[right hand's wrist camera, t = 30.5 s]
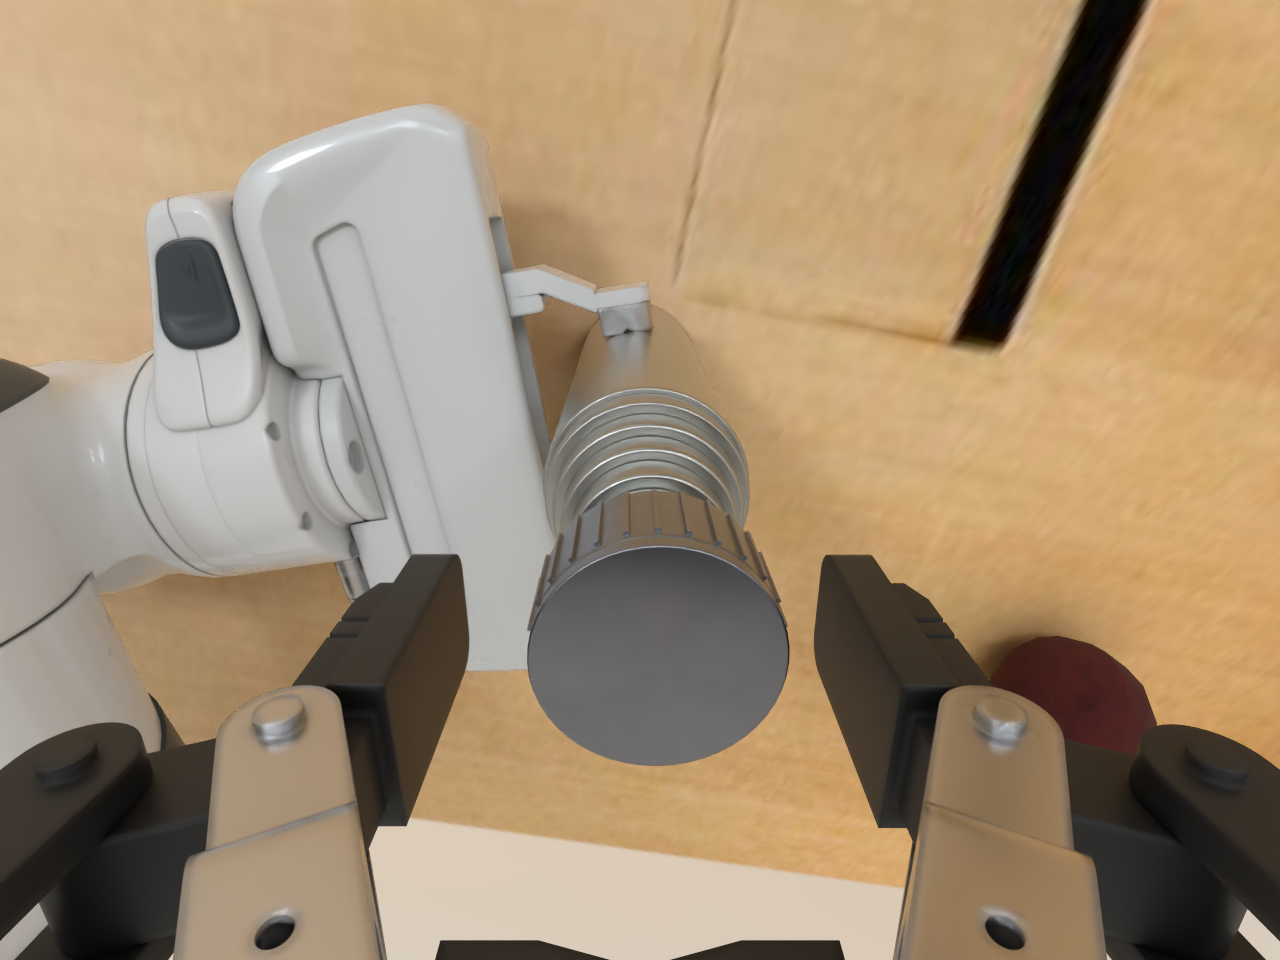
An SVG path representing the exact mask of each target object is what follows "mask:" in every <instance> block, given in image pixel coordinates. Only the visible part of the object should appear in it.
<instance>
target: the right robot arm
mask: <svg viewBox="0 0 1280 960" xmlns="http://www.w3.org/2000/svg"><path fill="white" fill-rule="evenodd" d="M814 652H815V660H816V665H817V669H818V672H819V675H820V678H821V680H822V683H823V685H824V688H825V691H826V693H827V696H828V698H829V701H830V703H831V706H832V709H833V711H834V714H835V716H836V719H837V722H838V724H839V727H840V729H841V732H842V735H843V737H844V740H845V742H846V745H847V748H848V750H849V753H850V755H851V758H852V761H853V763H854V766H855V768H856V771H857V773H858V776H859V779H860V781H861V784H862V786H863V789H864V792H865V794H866V797H867V799H868V802H869V805H870V807H871V810H872V812H873V815H874V818H875V820H876V823H877V825H878V828H907V829H908V831H909V834H910V836H911V838H912V841H913V842H912V848H911V853H910V858H909V863H908V869H907V876H906V882H905V888H904V894H903V900H902V906H901V913H900V919H899V925H898V931H897V937H896V943H895V949H894V956H893V960H1107V955H1106V953H1107V954H1108V955H1109V957H1110V958H1111V959H1112V960H1266V959H1265V958H1264V957H1263V956H1262V955H1261V954H1260V953H1259V952H1258V951H1257V950H1256V949H1255V948H1254V947H1253V946H1252V945H1251V944H1250V943H1249V942H1248V941H1247V940H1246V939H1245V938H1244V936H1243V935H1242V934H1241V933H1240V932H1239V931H1238V929H1239V926H1240V924H1241V922H1242V920H1243V918H1244V915H1245V913H1246V911H1247V909H1248V910H1249V911H1250V912H1251V913H1252V914H1253V915H1254V916H1255V917H1256V918H1257V919H1258V920H1259V921H1260V922H1261V923H1262V924H1263V925H1264V926H1265V927H1266V928H1267V929H1268V930H1269V931H1270V932H1271V933H1272V934H1273V935H1274V936H1275V937H1276V938H1277V939H1278V940H1279V941H1280V770H1279V769H1278V768H1277V767H1275V766H1274V765H1273V764H1272V763H1270V762H1269V761H1268V760H1266V759H1265V758H1263V757H1262V756H1260V755H1259V754H1258V753H1256V752H1254V751H1252V750H1251V749H1249V748H1247V747H1246V746H1244V745H1242V744H1240V743H1238V742H1236V741H1234V740H1231V739H1229V738H1227V737H1224V736H1222V735H1219V734H1216V733H1213V732H1210V731H1207V730H1203V729H1200V728H1196V727H1190V726H1185V725H1174V724H1170V725H1159V726H1154V727H1152V728H1149V729H1148V730H1147V731H1145V732H1144V733H1143V735H1142V737H1141V739H1140V742H1139V745H1138V748H1137V751H1136V754H1131V753H1126V752H1122V751H1117V750H1112V749H1108V748H1103V747H1098V746H1094V745H1089V744H1084V743H1080V742H1076V741H1072V740H1068V739H1065V738H1064V737H1063V733H1062V731H1061V729H1060V727H1059V725H1058V724H1057V722H1056V721H1055V720H1054V719H1053V718H1052V717H1051V716H1050V715H1049V714H1048V713H1047V712H1046V711H1045V710H1043V709H1042V708H1041V707H1039V706H1038V705H1036V704H1035V703H1033V702H1032V701H1030V700H1028V699H1026V698H1024V697H1022V696H1020V695H1017V694H1015V693H1012V692H1009V691H1006V690H1003V689H999V688H995V687H993V686H992V685H991V683H990V682H989V681H988V679H987V678H986V677H985V675H984V674H983V672H982V671H981V670H980V668H979V667H978V666H977V664H976V663H975V662H974V660H973V659H972V658H971V656H970V655H969V654H968V652H967V651H966V650H965V648H964V647H963V645H962V644H961V643H960V641H959V640H958V639H955V637H954V633H953V632H952V631H951V629H950V628H949V627H948V625H947V624H946V623H943V618H942V617H941V616H940V614H939V613H938V612H937V610H936V609H935V608H934V606H933V605H932V604H931V602H930V601H929V600H928V599H927V598H925V597H924V596H922V595H921V594H919V593H918V592H916V591H915V590H913V589H912V588H910V587H909V586H907V585H906V584H904V583H890V581H889V580H888V578H887V577H886V575H885V574H884V572H883V571H882V569H881V568H880V566H879V565H878V563H877V562H876V560H875V559H874V558H873V556H871V555H826V556H825V557H824V559H823V562H822V567H821V575H820V584H819V593H818V603H817V612H816V621H815V631H814ZM468 655H469V626H468V616H467V607H466V597H465V588H464V578H463V569H462V563H461V559H460V557H459V556H458V555H457V554H413V555H411V557H410V558H409V560H408V561H407V563H406V564H405V566H404V567H403V569H402V570H401V572H400V573H399V575H398V576H397V578H396V579H395V581H394V582H393V583H378V584H377V585H375V586H374V587H372V588H371V589H369V590H368V591H366V592H365V593H363V594H362V595H360V596H359V597H358V598H356V599H355V600H354V602H353V603H352V604H351V606H350V607H349V608H348V610H347V611H346V613H345V614H344V615H343V617H342V621H341V622H338V623H337V625H336V626H335V628H334V629H333V630H332V632H331V633H330V638H326V640H325V641H324V643H323V644H322V645H321V647H320V648H319V649H318V651H317V652H316V654H315V655H314V656H313V658H312V659H311V660H310V662H309V663H308V664H307V666H306V667H305V669H304V670H303V671H302V673H301V674H300V675H299V677H298V678H297V680H296V681H295V682H294V684H293V685H292V686H290V687H285V688H281V689H277V690H274V691H271V692H268V693H265V694H263V695H260V696H258V697H256V698H254V699H252V700H250V701H248V702H247V703H245V704H244V705H242V706H241V707H239V708H238V709H237V710H235V711H234V712H233V713H232V714H231V715H230V716H229V717H228V718H227V719H226V720H225V721H224V722H223V724H222V725H221V727H220V729H219V731H218V733H217V737H216V738H215V739H211V740H207V741H203V742H199V743H194V744H189V745H185V746H180V747H175V748H171V749H166V750H161V751H157V752H152V753H147V751H146V747H145V744H144V741H143V738H142V735H141V733H140V732H139V730H138V729H136V728H135V727H134V726H131V725H128V724H125V723H119V722H106V723H97V724H91V725H86V726H82V727H79V728H75V729H72V730H69V731H66V732H63V733H60V734H58V735H56V736H53V737H51V738H49V739H47V740H45V741H43V742H41V743H39V744H37V745H35V746H33V747H32V748H30V749H28V750H27V751H25V752H24V753H22V754H21V755H19V756H18V757H16V758H15V759H14V760H12V761H11V762H10V763H8V764H7V765H6V766H5V767H3V768H2V769H1V770H0V941H1V940H2V939H3V938H4V937H5V936H6V935H7V934H8V933H9V932H10V931H11V930H12V929H13V928H14V927H15V926H16V925H17V924H18V923H19V922H20V921H21V920H22V919H23V918H24V917H25V916H26V915H27V914H28V913H29V912H30V911H31V910H32V909H33V908H34V907H35V906H36V905H37V904H38V903H39V905H40V907H41V909H42V912H43V914H44V916H45V918H46V921H47V923H48V925H47V926H46V927H45V928H44V929H43V930H42V931H41V932H40V933H39V934H38V935H37V936H36V938H35V939H34V940H33V941H32V942H31V943H30V944H29V945H28V946H27V947H26V948H25V949H24V950H23V951H22V952H21V953H20V954H19V955H18V956H17V957H16V958H15V959H14V960H168V959H169V958H170V957H171V955H172V954H173V953H174V955H173V960H387V956H386V950H385V943H384V937H383V931H382V925H381V919H380V913H379V907H378V900H377V894H376V888H375V882H374V876H373V870H372V863H371V858H370V853H369V847H370V844H371V842H372V839H373V837H374V835H375V832H376V830H377V828H378V826H407V823H408V820H409V818H410V815H411V813H412V810H413V807H414V805H415V802H416V799H417V797H418V794H419V791H420V789H421V786H422V784H423V781H424V778H425V776H426V773H427V770H428V768H429V765H430V762H431V760H432V757H433V755H434V752H435V749H436V747H437V744H438V741H439V739H440V736H441V733H442V731H443V728H444V726H445V723H446V720H447V718H448V715H449V712H450V710H451V707H452V704H453V702H454V699H455V696H456V694H457V691H458V689H459V686H460V683H461V681H462V678H463V675H464V673H465V670H466V666H467V662H468ZM435 960H608V959H604V958H601V957H597V956H594V955H590V954H586V953H583V952H579V951H575V950H571V949H568V948H564V947H561V946H557V945H553V944H549V943H546V942H542V941H539V940H493V941H492V940H466V941H465V940H441V941H440V944H439V948H438V951H437V955H436V959H435ZM672 960H845V959H844V955H843V951H842V948H841V944H840V941H839V940H742V941H738V942H734V943H730V944H727V945H723V946H719V947H716V948H712V949H708V950H705V951H701V952H697V953H694V954H690V955H687V956H683V957H679V958H675V959H672Z"/></svg>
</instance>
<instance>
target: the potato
mask: <svg viewBox="0 0 1280 960" xmlns="http://www.w3.org/2000/svg"><path fill="white" fill-rule="evenodd" d="M990 683H991V685H992V686H993V687H995V688H999V689H1003V690H1006V691H1009V692H1012V693H1015V694H1017V695H1020V696H1022V697H1024V698H1026V699H1028V700H1030V701H1032V702H1033V703H1035V704H1036V705H1038V706H1039V707H1041V708H1042V709H1043V710H1045V711H1046V712H1047V713H1048V714H1049V715H1050V716H1051V717H1052V718H1053V719H1054V720H1055V721H1056V722H1057V724H1058V725H1059V727H1060V729H1061V731H1062V733H1063V737H1064V738H1065V739H1068V740H1072V741H1076V742H1080V743H1084V744H1089V745H1094V746H1098V747H1103V748H1108V749H1112V750H1117V751H1122V752H1126V753H1131V754H1136V751H1137V748H1138V745H1139V742H1140V739H1141V737H1142V735H1143V733H1144V732H1145V731H1147V730H1148V729H1149V728H1152V727H1154V726H1156V725H1157V722H1156V719H1155V717H1154V714H1153V711H1152V708H1151V706H1150V703H1149V700H1148V697H1147V695H1146V692H1145V689H1144V686H1143V685H1142V684H1141V683H1140V682H1139V681H1138V680H1137V679H1136V678H1135V677H1134V676H1133V674H1132V673H1131V672H1130V671H1129V670H1128V669H1127V668H1126V667H1125V666H1123V665H1122V664H1121V663H1119V662H1118V661H1117V660H1115V659H1114V658H1113V657H1111V656H1110V655H1109V654H1107V653H1106V652H1105V651H1103V650H1101V649H1099V648H1097V647H1096V646H1094V645H1092V644H1088V643H1084V642H1081V641H1077V640H1073V639H1069V638H1065V637H1060V636H1052V637H1042V638H1036V639H1034V640H1032V641H1030V642H1027V643H1025V644H1023V645H1020V646H1019V647H1017V648H1016V649H1015V650H1014V651H1012V652H1011V653H1010V654H1008V655H1007V656H1006V657H1005V658H1004V660H1003V661H1002V663H1001V664H1000V665H999V667H998V668H997V670H996V671H995V673H994V674H993V675H992V677H991V680H990Z"/></svg>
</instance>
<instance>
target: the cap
mask: <svg viewBox="0 0 1280 960" xmlns="http://www.w3.org/2000/svg"><path fill="white" fill-rule="evenodd" d="M780 602H781V600H780V598H779V595H778V593H777V590H776V588H775V585H774V583H773V580H772V577H771V575H770V572H769V570H768V567H767V565H766V562H765V560H764V557H763V555H762V552H758V551H757V549H756V546H755V544H754V541H753V538H752V536H751V533H750V532H749V531H746V532H745V531H744V530H743V529H742V528H741V527H740V525H739V524H738V523H737V522H736V521H735V520H734V517H733V515H732V514H731V513H729V514H728V515H727V514H726V513H725V512H723V511H722V510H720V509H719V508H717V507H715V506H714V505H712V504H711V501H710V500H707V499H706V501H703V500H701V499H698V498H695V497H693V496H689V495H685V492H683V491H680V492H679V493H675V492H666V491H657V489H652V491H643V492H636V493H631V494H629V492H624V495H622V496H619V497H616V498H612V499H609V500H607V501H604V502H603V501H602V500H601V501H599V502H597V506H595V507H593V508H592V509H590V510H588V511H587V512H585V513H584V514H583V515H581V516H580V515H579V514H578V515H577V516H576V517H575V519H574V522H573V523H572V524H571V525H570V526H569V527H568V528H567V529H566V530H565V531H564V532H563V534H561V533H559V534H558V535H557V538H556V543H555V546H554V547H553V549H552V551H551V553H550V555H548V554H546V556H545V559H544V563H543V568H542V572H541V576H540V577H539V581H538V586H537V590H536V594H535V598H534V602H533V606H532V610H531V615H530V619H529V623H528V627H527V631H530V636H529V641H528V647H527V666H528V673H529V679H530V682H531V685H532V689H533V691H534V694H535V696H536V698H537V700H538V702H539V704H540V706H541V707H542V709H543V710H544V712H545V713H546V715H547V716H548V718H549V719H550V720H551V721H552V722H553V723H554V725H555V726H556V727H557V728H558V729H559V730H560V731H562V732H563V733H564V734H565V735H566V736H567V737H568V738H570V739H571V740H573V741H574V742H576V743H577V744H579V745H580V746H582V747H584V748H586V749H588V750H589V751H591V752H593V753H595V754H598V755H601V756H603V757H606V758H609V759H612V760H616V761H620V762H623V763H629V764H636V765H647V766H664V765H675V764H682V763H688V762H692V761H695V760H699V759H703V758H706V757H708V756H711V755H713V754H716V753H718V752H720V751H722V750H724V749H726V748H728V747H730V746H732V745H733V744H735V743H736V742H738V741H739V740H741V739H742V738H744V737H745V736H746V735H748V734H749V733H750V732H751V731H752V730H753V729H755V728H756V727H757V726H758V725H759V723H760V722H761V721H762V720H763V719H764V718H765V717H766V716H767V714H768V713H769V711H770V710H771V709H772V707H773V706H774V704H775V703H776V701H777V699H778V697H779V695H780V693H781V691H782V688H783V685H784V682H785V679H786V676H787V671H788V665H789V640H788V633H787V629H786V628H787V622H786V620H785V617H784V615H783V612H782V610H781V607H780V604H779V603H780Z"/></svg>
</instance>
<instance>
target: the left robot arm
mask: <svg viewBox="0 0 1280 960" xmlns="http://www.w3.org/2000/svg"><path fill="white" fill-rule="evenodd" d="M145 235H146V248H147V258H148V268H149V279H150V289H151V303H152V319H153V349H151V350H149V351H147V352H145V353H143V354H141V355H139V356H138V357H136V358H134V359H132V360H129V361H125V362H107V361H100V360H89V359H72V360H62V361H56V362H49V363H43V364H37V365H31V366H23V365H20V364H18V363H15V362H11V361H8V360H5V359H1V358H0V770H1V769H2V768H3V767H5V766H6V765H7V764H8V763H10V762H11V761H12V760H14V759H15V758H16V757H18V756H19V755H21V754H22V753H24V752H25V751H27V750H28V749H30V748H32V747H33V746H35V745H37V744H39V743H41V742H43V741H45V740H47V739H49V738H51V737H53V736H56V735H58V734H60V733H63V732H66V731H69V730H72V729H75V728H79V727H82V726H86V725H91V724H97V723H106V722H119V723H125V724H128V725H131V726H134V727H135V728H136V729H138V730H139V732H140V733H141V735H142V738H143V741H144V744H145V747H146V751H147V753H152V752H157V751H161V750H166V749H171V748H175V747H180V746H185V744H184V742H183V741H182V739H181V738H180V736H179V735H178V733H177V732H176V730H175V728H174V727H173V725H172V724H171V722H170V721H169V719H168V718H167V716H166V715H165V713H164V711H163V710H162V708H161V707H160V705H159V704H158V702H157V701H156V700H155V699H154V698H153V697H152V696H151V695H150V694H149V693H148V692H147V690H146V688H145V686H144V684H143V682H142V680H141V678H140V676H139V674H138V672H137V670H136V668H135V666H134V664H133V662H132V660H131V658H130V656H129V654H128V652H127V650H126V648H125V646H124V644H123V642H122V640H121V638H120V636H119V634H118V632H117V630H116V628H115V626H114V624H113V622H112V620H111V618H110V616H109V614H108V612H107V610H106V608H105V606H104V604H103V602H102V600H101V597H100V595H101V594H109V593H116V592H121V591H125V590H130V589H134V588H138V587H141V586H143V585H146V584H148V583H150V582H152V581H155V580H157V579H159V578H161V577H163V576H166V575H170V574H180V573H181V574H187V575H192V576H201V577H210V578H214V577H230V576H237V575H244V574H252V573H259V572H266V571H273V570H280V569H287V568H294V567H300V566H307V565H314V564H322V563H329V562H334V564H335V566H336V569H337V572H338V575H339V578H340V580H341V583H342V586H343V588H344V591H345V593H346V595H347V597H348V599H349V601H350V602H351V604H352V603H353V602H354V600H355V599H356V598H358V597H359V596H360V595H362V594H363V593H365V592H366V591H368V590H369V589H371V588H372V587H374V586H375V585H377V584H378V583H393V582H394V581H395V579H396V578H397V576H398V575H399V573H400V572H401V570H402V569H403V567H404V566H405V564H406V563H407V561H408V560H409V558H410V557H411V555H413V554H457V555H458V556H459V557H460V559H461V563H462V569H463V578H464V588H465V597H466V607H467V616H468V626H469V655H468V662H467V666H466V670H465V671H516V670H528V666H527V647H528V641H529V636H530V631H527V627H528V623H529V619H530V615H531V610H532V606H533V602H534V598H535V594H536V590H537V586H538V581H539V577H540V576H541V572H542V568H543V563H544V559H545V556H546V554H548V555H550V553H551V551H552V549H553V547H554V546H555V543H556V540H555V538H554V535H553V533H552V531H551V529H550V526H549V523H548V519H547V515H546V509H545V498H544V492H543V476H544V469H545V464H546V460H547V456H548V453H549V450H550V447H551V439H550V434H549V430H548V425H547V420H546V416H545V411H544V406H543V401H542V397H541V392H540V387H539V383H538V378H537V373H536V369H535V364H534V359H533V354H532V350H531V345H530V340H529V336H528V331H527V326H526V321H525V317H524V315H527V314H533V313H539V312H542V311H543V310H544V309H545V308H546V307H547V306H548V305H549V303H550V302H551V297H553V298H556V299H559V300H561V301H564V302H567V303H570V304H572V305H575V306H578V307H580V308H583V309H586V310H588V311H591V312H594V313H596V314H597V313H598V315H599V320H600V325H601V331H602V336H603V337H608V336H615V335H619V334H622V333H624V332H625V331H626V330H627V329H629V330H631V331H633V332H635V331H646V330H650V329H652V328H654V324H653V316H652V308H651V300H650V294H649V287H648V282H635V283H629V284H623V285H616V286H610V287H604V288H597V285H596V284H593V283H591V282H588V281H586V280H583V279H581V278H578V277H576V276H573V275H571V274H568V273H566V272H563V271H561V270H558V269H556V268H553V267H551V266H548V265H546V264H543V265H537V266H531V267H525V268H518V269H514V265H513V260H512V256H511V251H510V246H509V241H508V237H507V232H506V227H505V223H504V218H503V213H502V209H501V204H500V199H499V194H498V190H497V185H496V180H495V176H494V171H493V166H492V161H491V157H490V152H489V147H488V143H487V140H486V137H485V135H484V134H483V132H482V131H481V130H480V129H479V128H477V127H476V126H475V125H473V124H472V123H471V122H469V121H468V120H467V119H465V118H464V117H463V116H461V115H460V114H458V113H457V112H455V111H453V110H451V109H449V108H447V107H444V106H441V105H437V104H427V103H425V104H416V105H410V106H404V107H398V108H394V109H390V110H386V111H382V112H378V113H373V114H370V115H366V116H362V117H359V118H355V119H352V120H348V121H345V122H342V123H339V124H336V125H332V126H329V127H326V128H323V129H320V130H318V131H315V132H312V133H310V134H307V135H304V136H301V137H299V138H296V139H294V140H291V141H289V142H286V143H284V144H282V145H280V146H277V147H275V148H273V149H271V150H270V151H268V152H266V153H265V154H263V155H262V156H260V157H259V158H258V159H256V160H255V161H254V162H253V163H252V164H251V165H250V166H249V167H248V168H247V169H246V171H245V172H244V173H243V175H242V176H241V178H240V180H239V182H238V184H237V187H236V190H218V191H207V192H198V193H192V194H186V195H181V196H177V197H173V198H168V199H165V200H162V201H159V202H157V203H155V204H154V205H153V206H152V207H151V208H150V209H149V211H148V214H147V217H146V224H145ZM47 925H48V923H47V921H46V918H45V916H44V914H43V912H42V909H41V907H40V905H39V903H38V904H37V905H36V906H35V907H34V908H33V909H32V910H31V911H30V912H29V913H28V914H27V915H26V916H25V917H24V918H23V919H22V920H21V921H20V922H19V923H18V924H17V925H16V926H15V927H14V928H13V929H12V930H11V931H10V932H9V933H8V934H7V935H6V936H5V937H4V938H3V939H2V940H1V941H0V960H14V959H15V958H16V957H17V956H18V955H19V954H20V953H21V952H22V951H23V950H24V949H25V948H26V947H27V946H28V945H29V944H30V943H31V942H32V941H33V940H34V939H35V938H36V936H37V935H38V934H39V933H40V932H41V931H42V930H43V929H44V928H45V927H46V926H47Z"/></svg>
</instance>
